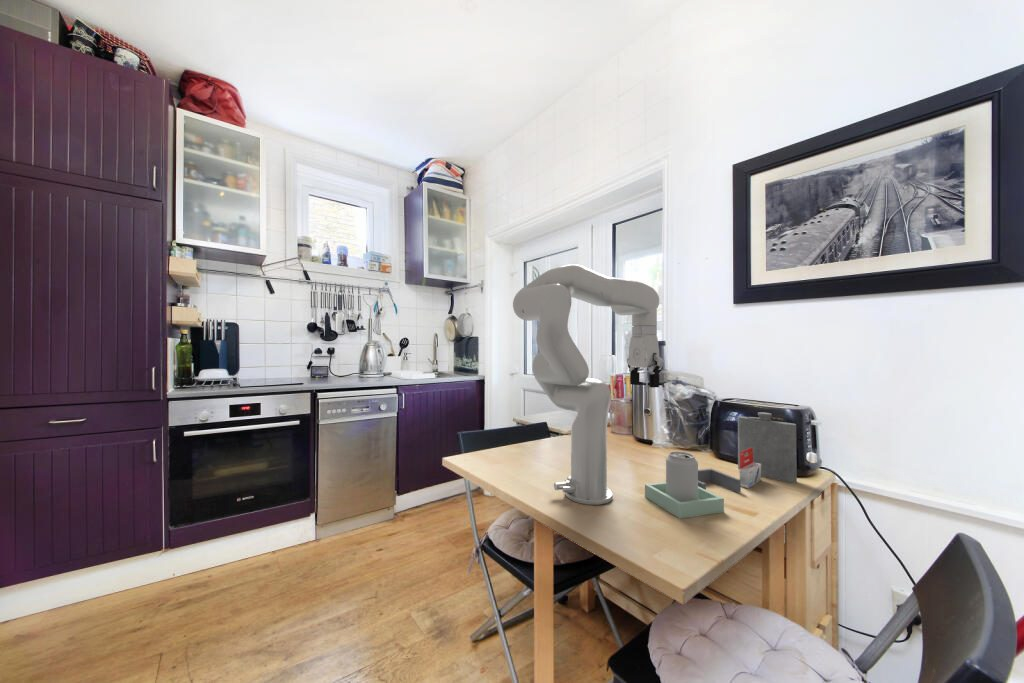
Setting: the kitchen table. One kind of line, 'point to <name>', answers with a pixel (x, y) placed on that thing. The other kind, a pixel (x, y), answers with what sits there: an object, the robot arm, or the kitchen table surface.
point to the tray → (702, 506)
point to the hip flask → (769, 445)
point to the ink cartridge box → (749, 469)
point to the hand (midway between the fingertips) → (644, 385)
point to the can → (682, 476)
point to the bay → (718, 479)
